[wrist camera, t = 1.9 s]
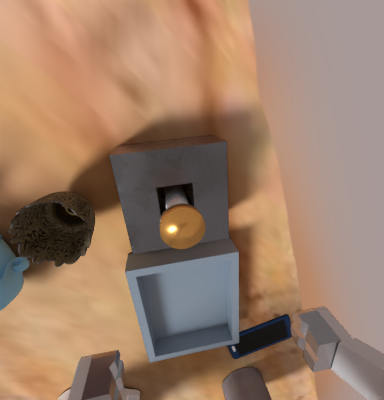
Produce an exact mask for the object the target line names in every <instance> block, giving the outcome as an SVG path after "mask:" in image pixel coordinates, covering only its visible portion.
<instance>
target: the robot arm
mask: <svg viewBox="0 0 384 400" xmlns="http://www.w3.org/2000/svg"><path fill="white" fill-rule="evenodd" d="M292 319H293V320H294V322H293V323H292V324H291V334H292V337H293V339H294V341H295V343H296V345H297V346H298V347H299V348H301V349H302V350H303V351H304V353H303V357H304V358H305V360H306V362H307V363H308V365H309V367H310V368H311V370H312V372H316V371H321V370H326V369H331V370H332V371H333V372H335V373H336V374H337V375H338V376H340V377H341V378H342V379H343V380H345V381H346V382H347V383H348V384H349V385H351V386H352V387H353V388H354V389H355V390H357V391H358V392H359V393H360V394H362V395H363V396H364V397H365V398H367V399H368V400H384V354H383V353H381V352H380V351H378V350H376V349H374V348H373V347H371V346H369V345H367V344H366V343H364V342H362V341H360V340H358V339H357V338H354V339H353V338H352V337H351V336H350V335H349V334H348V332H347V331H346V330H345V329H344V328H343V326H341V324H340V323H339V322H338V321H337V320H336V318H335V317H334V316H333V315H332V314H331V313H330V312H329V310H328V309H327V308H326V307H318V308H312V309H308V310H303V311H299V312H294V313H293V314H292ZM123 386H124V364H123V361H122V360H120V353H119V350H115V351H110V352H105V353H100V354H94V355H89V356H84V357H81V359H80V361H79V362H78V366H77V369H76V372H75V376H74V379H73V383H72V386H71V389H69V390H67V391H65V392H64V393H63V394H62V395H61V396H60V397H59V398H58V400H140V391H138V390H135V389H126V388H124V387H123Z"/></svg>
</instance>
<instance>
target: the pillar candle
mask: <svg viewBox="0 0 384 400" xmlns="http://www.w3.org/2000/svg"><path fill="white" fill-rule="evenodd" d="M222 388H223V392H224V396H225V400H271V397H270V395H269V392H268V389H267V387H266V385H265V382H264V380H263V377H262V375H261V373H260V371H259V370H258V369H256V368H252V367H245V368H241V369H237V370H235V371H233V372H231V373H230V374H229V375H228V376H227V378H226V379H225V380H224V381H223V383H222Z"/></svg>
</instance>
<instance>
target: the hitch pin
mask: <svg viewBox="0 0 384 400" xmlns="http://www.w3.org/2000/svg"><path fill="white" fill-rule="evenodd" d="M164 192H165V201H166V210H165V211H164V212H163V214H162V216H161V218H160V223H159V225H160V235H161V238H162V240H163V241H164V242H165V243H166V244H167V245H168V246H170V247H172V248H176V249H186V248H190V247H192V246H194V245H196V244H197V243H198V242H199V241H200V240H201V239H202V237H203V236H204V233H205V222H204V220H203V217H202V215H201V213H200V211H199V210H198V209H197V208H196V207H194V206H192V205H190V204H188V201H187V198H186V196H185V193H184V190H183V187H182V184H180V185H173V186H165V187H164Z"/></svg>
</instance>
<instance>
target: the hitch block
mask: <svg viewBox="0 0 384 400" xmlns="http://www.w3.org/2000/svg"><path fill="white" fill-rule="evenodd" d="M109 157H110V161H111V165H112V169H113V173H114V177H115V182H116V186H117V190H118V194H119V198H120V202H121V207H122V211H123V215H124V219H125V223H126V227H127V231H128V236H129V240H130V244H131V248H132V252H133V254H137V253H143V252H149V251H155V250H161V249H167V248H172V247H170V246H168V245H167V244H166V243H165V242H164V241H163V240H162V238H161V235H160V225H159V223H160V218H161V216H162V214H163V212H164V211H165V210H166V201H165V199H164V200H160V197H159V191H158V187H165V186H173V185H180V184H187V190H188V196H186V198H187V201H188V204H190V205H192V206H194V207H196V208H197V209H198V210H199V211H200V213H201V215H202V217H203V220H204V222H205V233H204V236H203V237H202V239H201V240H200V241H199V242H198V243H203V242H209V241H215V240H221V239H227V238H229V219H228V178H227V142H226V141H224V140H222V139H220V138H218V137H216V136H214V135H208V136H199V137H191V138H182V139H173V140H164V141H156V142H147V143H138V144H129V145H120V146H118V147H117V148H116V149H115V150H114V151H113V152H112V153H111V154H110V155H109Z"/></svg>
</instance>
